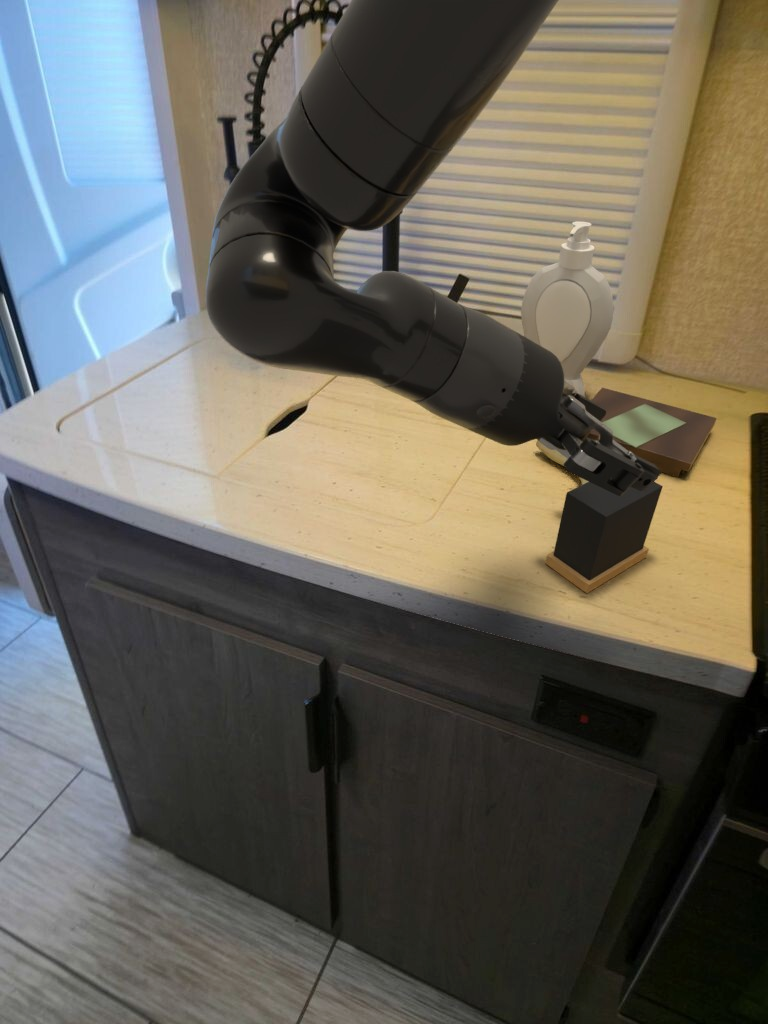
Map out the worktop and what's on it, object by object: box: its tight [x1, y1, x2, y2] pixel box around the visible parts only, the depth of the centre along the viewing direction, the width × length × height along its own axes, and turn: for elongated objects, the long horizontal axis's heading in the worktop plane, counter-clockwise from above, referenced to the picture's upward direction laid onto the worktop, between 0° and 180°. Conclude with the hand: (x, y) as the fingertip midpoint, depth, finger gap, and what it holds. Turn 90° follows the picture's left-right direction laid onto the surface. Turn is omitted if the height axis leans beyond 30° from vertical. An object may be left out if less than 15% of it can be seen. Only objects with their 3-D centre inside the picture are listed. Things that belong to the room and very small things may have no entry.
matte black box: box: [545, 481, 663, 594], centre depth 67 cm, size 10×6×9 cm, turn 126°
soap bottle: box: [520, 220, 614, 397], centre depth 93 cm, size 13×8×24 cm, turn 63°
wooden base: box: [583, 387, 717, 478], centre depth 90 cm, size 16×14×3 cm
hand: (622, 447), depth 55 cm, fingers open, 8 cm apart
